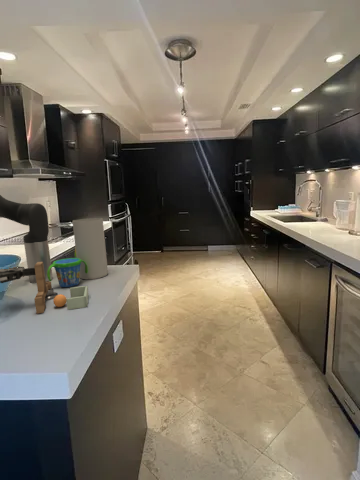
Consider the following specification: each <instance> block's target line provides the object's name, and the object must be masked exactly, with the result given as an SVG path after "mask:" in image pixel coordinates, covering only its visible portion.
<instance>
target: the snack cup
mask: <svg viewBox="0 0 360 480" xmlns="http://www.w3.org/2000/svg"><path fill="white" fill-rule="evenodd" d="M81 262H83V263H84V264H85V273H88V266H87V264H86V262H85V261H83V260H81V259H79V258H75V257H70V258H69V257H67V258H62V259H57V260H54V261H53V262H52V263H51V265H50V266H49V268H48V271H47V277H48V279H49V281H48V282H52V280H51V279H50V269H51V268H52V269H53V268H54V270H55V275H56V278H57V282H58V284H59V287H60V288H73V287H75V286H78V285H79V284H80V279H81V278H80V265H81Z"/></svg>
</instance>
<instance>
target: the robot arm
mask: <svg viewBox="0 0 360 480" xmlns="http://www.w3.org/2000/svg"><path fill="white" fill-rule="evenodd" d="M0 218H4V219H7V220H9V221H12V222H15V223H18V224H20V225H23V226H28V227H29V228H28V232H27V234H24V235H23V244H24V253H25V257H26V259H25V260H26V266H27V268H25V266H19V265H18V266H17V265H16V266H17V267H18V268H17V267H13V268H10V267H8V268H9V269H2V268H0V284H4V283H7V282H12V281H15V280H16V281H17V280H19V279H21V278H24V277H28V280H29V283H31V284H37V281H36V274H35V267H34V266H35V264H36V263H37V262H43V265H44V273H45V280H46V282H50V281H49V279H48V277H47V271H48V268H49V266H50V265H52V261H51V254H50V253H51V252H50V246H49V240H48V239H49V238H48V237H49V236H48V235H49V232H50V231H49V216H48V212H47V209H46V207H45V206H44V205H43V204H41V203H32V202H31V203H20V202H15V201H11V200H9V199H6V198H5V197H3V196H2V195H1V194H0ZM50 279H51V281H52V280H53V279H54V277H53V267H52V268H51V269H50Z"/></svg>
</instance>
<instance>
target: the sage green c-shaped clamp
mask: <svg viewBox="0 0 360 480" xmlns="http://www.w3.org/2000/svg"><path fill="white" fill-rule="evenodd" d="M69 292H70V297H68V298H67V297H66V301H67V302H66V309H67V311H69V310H76V309H84V308H87V307H88V304H89V303H88V302H89V296H90V295H89V286H88V285H82V286H72V287H69Z"/></svg>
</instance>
